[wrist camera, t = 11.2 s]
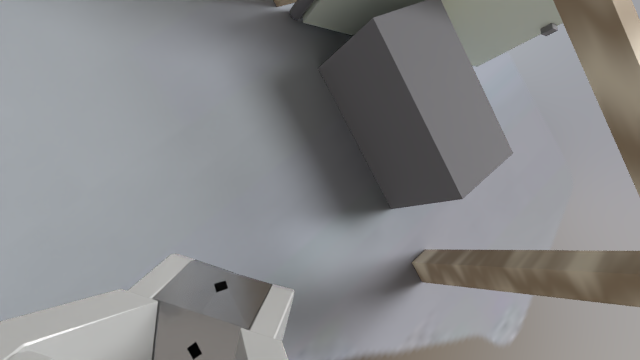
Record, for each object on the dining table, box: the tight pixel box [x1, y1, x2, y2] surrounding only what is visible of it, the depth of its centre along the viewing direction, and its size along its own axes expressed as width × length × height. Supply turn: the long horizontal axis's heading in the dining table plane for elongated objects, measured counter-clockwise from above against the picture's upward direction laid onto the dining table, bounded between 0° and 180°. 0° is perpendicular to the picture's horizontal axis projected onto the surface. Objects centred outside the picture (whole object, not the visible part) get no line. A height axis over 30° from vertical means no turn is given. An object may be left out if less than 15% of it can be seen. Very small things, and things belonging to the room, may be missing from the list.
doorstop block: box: [318, 0, 513, 209], centre depth 34 cm, size 16×9×9 cm, turn 32°
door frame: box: [274, 0, 640, 307], centre depth 26 cm, size 33×2×22 cm, turn 33°
